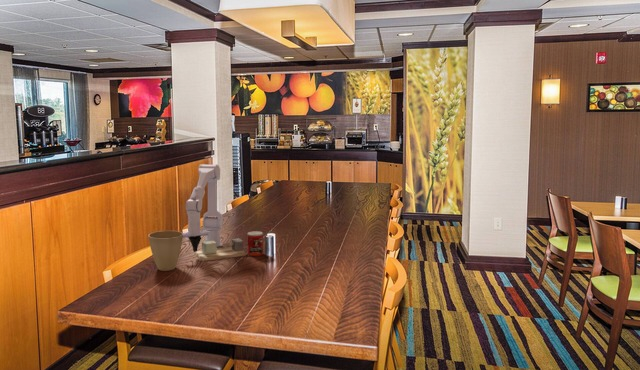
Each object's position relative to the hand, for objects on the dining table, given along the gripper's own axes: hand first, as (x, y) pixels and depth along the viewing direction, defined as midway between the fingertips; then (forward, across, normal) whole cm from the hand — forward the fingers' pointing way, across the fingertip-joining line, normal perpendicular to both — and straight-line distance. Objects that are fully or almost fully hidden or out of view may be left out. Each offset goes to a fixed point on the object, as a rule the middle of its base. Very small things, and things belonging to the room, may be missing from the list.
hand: (195, 251), depth 242 cm
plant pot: (+4, -16, -11) cm, 19 cm away
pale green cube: (+1, +7, 0) cm, 7 cm away
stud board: (+3, +12, 0) cm, 13 cm away
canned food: (+4, +28, -7) cm, 29 cm away
